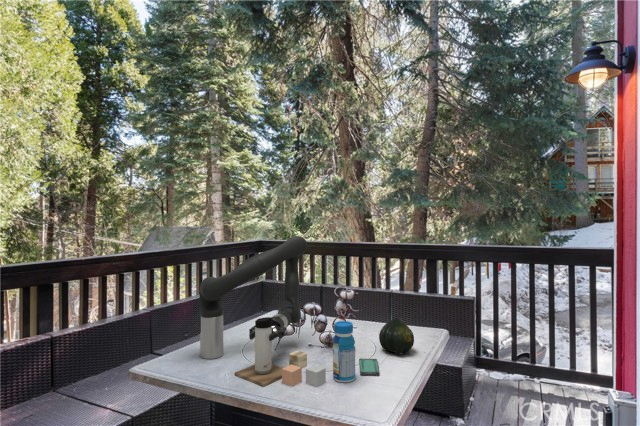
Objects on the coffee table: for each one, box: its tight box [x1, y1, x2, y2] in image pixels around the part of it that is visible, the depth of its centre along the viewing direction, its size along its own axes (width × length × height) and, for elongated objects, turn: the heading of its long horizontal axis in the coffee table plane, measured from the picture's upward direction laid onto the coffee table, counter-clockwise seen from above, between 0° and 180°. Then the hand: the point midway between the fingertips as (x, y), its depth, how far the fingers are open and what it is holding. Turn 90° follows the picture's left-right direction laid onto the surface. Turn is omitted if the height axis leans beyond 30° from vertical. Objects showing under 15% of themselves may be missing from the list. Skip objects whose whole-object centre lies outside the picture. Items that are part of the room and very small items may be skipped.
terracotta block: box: [281, 364, 303, 387], centre depth 136 cm, size 5×5×5 cm
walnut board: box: [234, 363, 283, 388], centre depth 143 cm, size 16×14×1 cm
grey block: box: [305, 364, 327, 388], centre depth 136 cm, size 5×5×5 cm
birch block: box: [288, 350, 308, 369], centre depth 151 cm, size 5×5×5 cm
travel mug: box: [254, 316, 273, 374], centre depth 144 cm, size 6×7×20 cm
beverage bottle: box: [331, 320, 356, 383], centre depth 139 cm, size 8×8×20 cm
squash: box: [378, 316, 415, 356], centre depth 166 cm, size 14×15×15 cm
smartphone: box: [358, 358, 380, 377], centre depth 148 cm, size 7×1×15 cm
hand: (260, 337), depth 141 cm, fingers open, 7 cm apart
